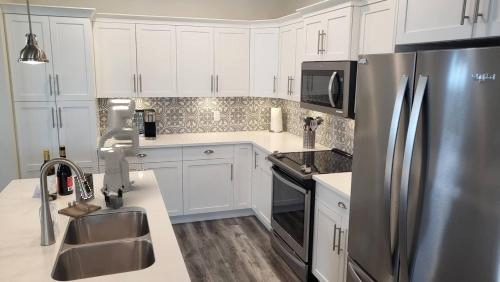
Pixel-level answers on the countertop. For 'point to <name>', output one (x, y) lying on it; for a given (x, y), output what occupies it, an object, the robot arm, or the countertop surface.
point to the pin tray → (78, 209)
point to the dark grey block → (115, 202)
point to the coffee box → (77, 188)
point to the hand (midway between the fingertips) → (113, 199)
